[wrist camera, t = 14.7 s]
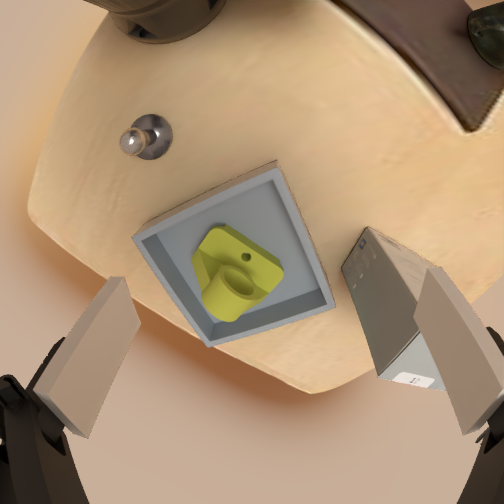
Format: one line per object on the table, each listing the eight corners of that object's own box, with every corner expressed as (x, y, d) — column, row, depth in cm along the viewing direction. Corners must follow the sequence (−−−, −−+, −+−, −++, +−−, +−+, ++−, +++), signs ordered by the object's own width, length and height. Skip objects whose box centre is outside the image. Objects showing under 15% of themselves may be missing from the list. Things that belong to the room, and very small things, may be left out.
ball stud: (123, 129, 34) (95, 135, 28) (159, 105, 32) (136, 105, 26) (143, 166, 36) (119, 179, 30) (180, 145, 35) (160, 153, 28)
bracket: (287, 264, 40) (290, 309, 31) (261, 293, 43) (257, 340, 34) (217, 218, 38) (200, 253, 29) (194, 251, 40) (173, 292, 31)
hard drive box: (338, 269, 41) (373, 377, 23) (366, 224, 38) (428, 318, 20) (412, 302, 43) (460, 395, 25) (439, 266, 40) (503, 351, 22)
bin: (145, 222, 40) (131, 237, 35) (276, 159, 35) (277, 167, 30) (213, 326, 47) (207, 347, 43) (330, 286, 42) (336, 307, 38)
